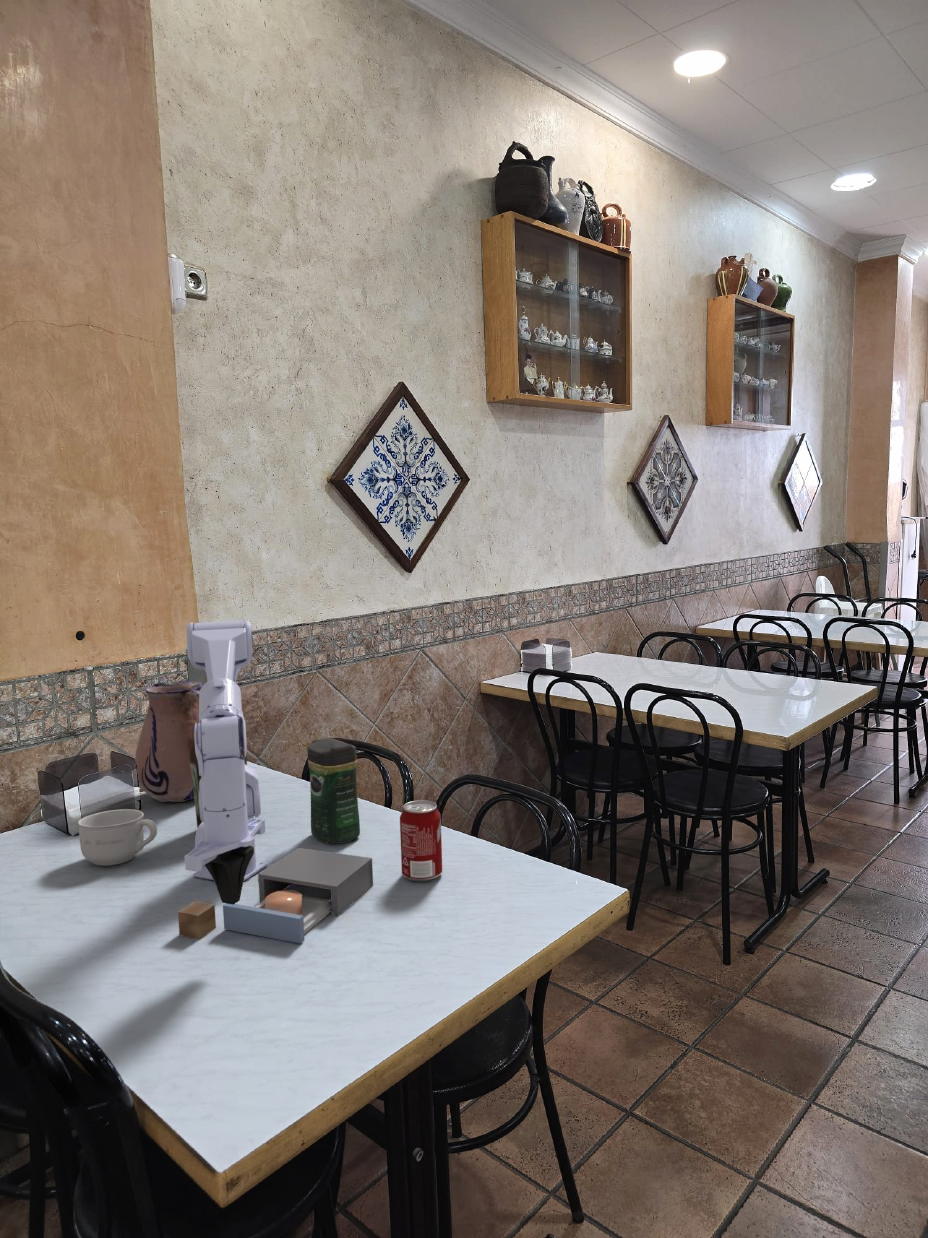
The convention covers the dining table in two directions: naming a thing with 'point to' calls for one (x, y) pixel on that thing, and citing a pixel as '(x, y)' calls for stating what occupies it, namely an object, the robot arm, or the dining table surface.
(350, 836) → the coffee jar
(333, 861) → the box
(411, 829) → the soda can
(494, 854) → the dining table surface
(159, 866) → the dining table surface
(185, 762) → the ceramic pitcher
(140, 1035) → the dining table surface
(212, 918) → the brown cube block
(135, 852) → the teacup
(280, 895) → the cylinder
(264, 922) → the tray
